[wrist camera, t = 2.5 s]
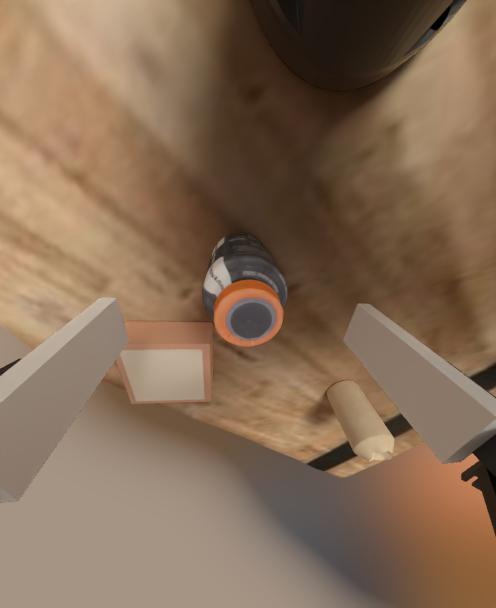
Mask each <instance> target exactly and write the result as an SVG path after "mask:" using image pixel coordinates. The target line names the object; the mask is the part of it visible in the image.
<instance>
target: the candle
mask: <svg viewBox="0 0 496 608" xmlns="http://www.w3.org/2000/svg"><path fill="white" fill-rule="evenodd" d="M327 397H328V399H329V402H330V404H331V406H332V408H333V410H334V412H335V414H336V416H337V418H338V420H339V422H340V424H341V426H342V428H343V430H344V433H345V435H346V437H347V439H348V441H349V443H350V445H351V447H352V449H353V451H354V453H355V454H357V455H358V456H360V457H362V458H364V459H366V460H368V461H370V462H371V461H372V460H384V459H391V458H392V455H393V448H394V438H393V436H392V435H391V433H390V432H389V430H388V429H387V427H386V426H385V424H384V423H383V421H382V420H381V418H380V417H379V415H378V414H377V413H376V411H375V410H374V408H373V407H372V405H371V404H370V402H369V401H368V399H367V398H366V396H365V395H364V393H363V392H362V390H361V389H360V388H359V386H358V385H357V384H356V383H355V382H354V381H351V380H344V381H340V382H337V383H335V384H333V385H332V386H331V387H330V388H329V389H328V391H327Z"/></svg>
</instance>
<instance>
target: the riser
mask: <svg viewBox="0 0 496 608" xmlns="http://www.w3.org/2000/svg"><path fill="white" fill-rule="evenodd" d="M125 329H126V332H127V336H128V339H129V341H128V343H127V344H126V346H125V347H124V349H123V350H122V352H121V353H120V354H119V356H118V357H117V359H116V363H117V366H118V368H119V371H120V374H121V377H122V380H123V382H124V385H125V388H126V391H127V393H128V396H129V399H130V401H131V404H150V403H183V402H211V399H212V388H213V322H155V321H127V323H126V324H125Z"/></svg>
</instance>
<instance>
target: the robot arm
mask: <svg viewBox="0 0 496 608" xmlns="http://www.w3.org/2000/svg"><path fill="white" fill-rule="evenodd" d="M251 2H252V5H253V8H254V10H255V13H256V15H257V18H258V20H259V23H260V25H261V27H262V29H263V31H264V33H265V35H266V37H267V39H268V40H269V42H270V44H271V45H272V47H273V48H274V50H275V51H276V53H277V54H278V56H279V57H280V58H281V59H282V61H283V62H284V63H285V64H286V65H287V66H288V67H289V68H290V69H291V70H292V71H293V72H294V73H295V74H297V75H298V76H299V77H301V78H302V79H303V80H305V81H307V82H308V83H310V84H313V85H315V86H317V87H320V88H323V89H328V90H336V91H345V90H353V89H357V88H361V87H364V86H367V85H369V84H371V83H374V82H376V81H378V80H379V79H381V78H383V77H384V76H386V75H388V74H389V73H391V72H392V71H393V70H395V69H396V68H397V67H399V66H400V65H401V64H402V63H404V62H405V61H406V60H408V59H409V58H410V57H412V56H413V55H414V54H415V53H417V52H418V51H419V50H420V49H422V48H423V47H424V46H425V45H426V44H427V43H428V42H429V41H430V40H432V39H433V38H434V37H435V36H436V35H437V34H438V33H439V32H440V31H441V30H442V29H443V27H444V26H445V25H446V24H447V23H448V22H449V21H450V20H451V19H452V18H453V17H454V15H455V14H456V13H457V12H458V11H459V9H460V8H461V7H462V6H463V4H464V3H465V2H466V0H251ZM128 341H129V339H128V336H127V332H126V329H125V325H124V322H123V318H122V315H121V311H120V308H119V304H118V301H117V298H99V299H98V300H96V301H95V302H94V303H93V304H91V305H90V306H89V307H88V308H86V309H85V310H84V311H82V312H81V313H80V314H79V315H77V316H76V317H75V318H74V319H72V320H71V321H70V322H68V323H67V324H66V325H65V326H63V327H62V328H61V329H60V330H58V331H57V332H56V333H54V334H53V335H52V336H51V337H49V338H48V339H47V340H46V341H44V342H43V343H42V344H40V345H39V346H38V347H37V348H35V349H34V350H33V351H32V352H30V353H29V354H28V355H26V356H25V357H24V358H23V359H18V360H16V361H14V362H12V363H10V364H8V365H6V366H5V367H3V368H1V369H0V503H3V502H15V501H19V500H20V498H21V497H22V495H23V494H24V492H25V491H26V489H27V488H28V486H29V485H30V484H31V482H32V481H33V479H34V478H35V476H36V475H37V473H38V472H39V470H40V469H41V468H42V466H43V465H44V463H45V462H46V460H47V459H48V457H49V456H50V454H51V453H52V452H53V450H54V449H55V447H56V446H57V444H58V443H59V441H60V440H61V439H62V437H63V436H64V434H65V433H66V431H67V430H68V428H69V427H70V426H71V424H72V423H73V421H74V420H75V418H76V417H77V415H78V414H79V412H80V411H81V409H82V408H83V406H84V405H85V404H86V402H87V401H88V399H89V398H90V397H91V395H92V394H93V392H94V391H95V389H96V388H97V386H98V385H99V383H100V382H101V381H102V379H103V378H104V376H105V375H106V373H107V372H108V370H109V369H110V367H111V366H112V365H113V363H114V362H115V360H116V359H117V357H118V356H119V354H120V353H121V352H122V350H123V349H124V347H125V346H126V344H127V343H128ZM343 341H344V342H345V344H346V345H347V346H348V347H349V349H350V350H351V351H352V352H353V354H354V355H355V356H356V357H357V359H358V360H359V361H360V362H361V364H362V365H363V366H364V367H365V369H366V370H367V371H368V372H369V374H370V375H371V376H372V377H373V379H374V380H375V381H376V382H377V384H378V385H379V386H380V387H381V389H382V390H383V391H384V392H385V393H386V395H387V396H388V397H389V398H390V400H391V401H392V402H393V403H394V405H395V406H396V407H397V408H398V410H399V411H400V412H401V413H402V415H403V416H404V417H405V418H406V420H407V421H408V422H409V423H410V425H411V426H412V427H413V428H414V430H415V431H416V432H417V433H418V435H419V436H420V437H421V438H422V439H423V441H424V442H425V443H426V444H427V446H428V447H429V448H430V449H431V451H432V452H433V453H434V454H435V456H436V457H437V458H438V459H439V461H440V462H441V463H454V462H461V461H462V460H464V459H465V458H466V457H468V456H469V455H470V454H472V453H473V454H474V455H475V456H476V457H477V458H478V459H479V460H480V461H478V462H477V463H475V464H474V465H473V466H471V467H470V468H468V469H467V470H466V471H464V472H463V473H462V474H461V479H462V480H463V481H465V482H466V481H468V480H469V479H471V478H472V477H473V476H477V477H478V479H477V480H475V481H474V482H473V483H472V486H474V487H475V488H477V489H479V490H481V491H482V493H483V497H484V500H485V503H486V506H487V509H488V513H489V516H490V519H491V522H492V526H493V529H494V532H495V535H496V397H495V396H493V395H492V394H491V393H489V392H488V391H487V390H485V389H484V388H483V387H481V386H480V385H479V384H477V383H475V382H473V380H472V379H471V378H469V377H468V376H467V375H465V374H463V373H461V371H460V370H459V369H457V368H456V367H455V366H453V365H452V364H450V363H449V362H448V361H446V360H444V359H443V358H441V357H440V356H439V355H437V354H436V353H435V352H433V351H432V350H431V349H429V348H428V347H427V346H425V345H424V344H423V343H421V342H420V341H419V340H417V339H416V338H415V337H413V336H412V335H411V334H409V333H408V332H407V331H405V330H404V329H403V328H401V327H400V326H399V325H397V324H396V323H395V322H393V321H392V320H391V319H389V318H388V317H387V316H385V315H384V314H383V313H381V312H380V311H379V310H377V309H376V308H375V307H373V306H372V305H371V304H357V306H356V309H355V311H354V314H353V316H352V319H351V321H350V324H349V326H348V329H347V331H346V334H345V336H344V339H343Z"/></svg>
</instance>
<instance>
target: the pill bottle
mask: <svg viewBox="0 0 496 608" xmlns="http://www.w3.org/2000/svg"><path fill="white" fill-rule="evenodd" d="M202 297H203V303H204V306H205V309H206V311H207V313H208V314H209V316H210V317H211V318H212V320H213V321H214V325H215V328H216V330H217V332H218V333H219V335H220V336H221V337H222V338H223V339H224V340H226V341H227V342H229V343H231V344H234V345H238V346H245V347H251V346H256V345H260V344H262V343H265V342H267V341H268V340H270V339H271V338H272V337H274V336H275V334H276V333H277V332H278V331H279V329H280V327H281V325H282V322H283V309H284V307H285V304H286V300H287V285H286V281H285V278H284V276H283V274H282V272H281V271H280V269H279V268H278V266H277V265H276V263H275V262H274V260H273V258H272V257H271V255H270V254H269V252H268V251H267V249H266V248H265V247H264V245H263V244H262V242H261V241H260V240H258V239H257V238H256V237H254V236H253V235H250V234H248V233H241V232H238V233H232V234H229V235H227V236H225V237H223V238H222V239H221V240H220V241H219V242H218V243H217V244H216V246H215V248H214V250H213V253H212V256H211V260H210V263H209V267H208V270H207V274H206V278H205V281H204V285H203V290H202Z"/></svg>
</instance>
